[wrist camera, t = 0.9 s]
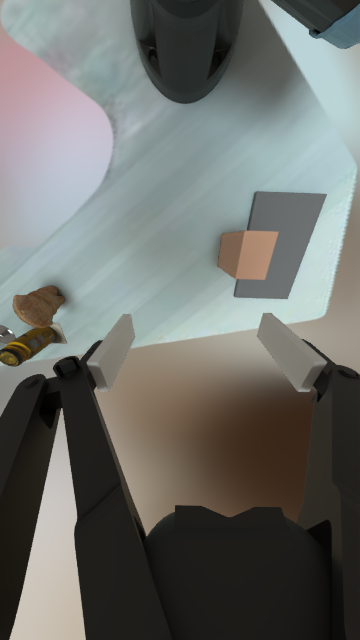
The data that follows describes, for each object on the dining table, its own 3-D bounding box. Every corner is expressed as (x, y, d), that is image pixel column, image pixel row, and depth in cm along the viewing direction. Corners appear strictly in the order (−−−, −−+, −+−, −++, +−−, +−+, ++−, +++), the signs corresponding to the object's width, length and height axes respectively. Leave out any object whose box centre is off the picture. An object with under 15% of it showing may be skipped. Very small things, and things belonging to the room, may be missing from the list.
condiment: (31, 322, 46) (-15, 347, 35) (59, 323, 46) (22, 348, 35) (41, 342, 49) (2, 370, 38) (67, 342, 49) (35, 371, 38)
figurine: (39, 289, 41) (-29, 312, 28) (63, 277, 39) (2, 295, 26) (62, 315, 44) (11, 347, 31) (84, 305, 43) (41, 333, 30)
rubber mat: (254, 193, 31) (257, 191, 30) (322, 195, 31) (326, 194, 30) (233, 295, 41) (235, 297, 40) (284, 297, 41) (287, 299, 40)
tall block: (221, 234, 35) (244, 230, 22) (243, 234, 35) (278, 231, 22) (217, 266, 38) (235, 278, 25) (237, 267, 38) (264, 279, 25)
